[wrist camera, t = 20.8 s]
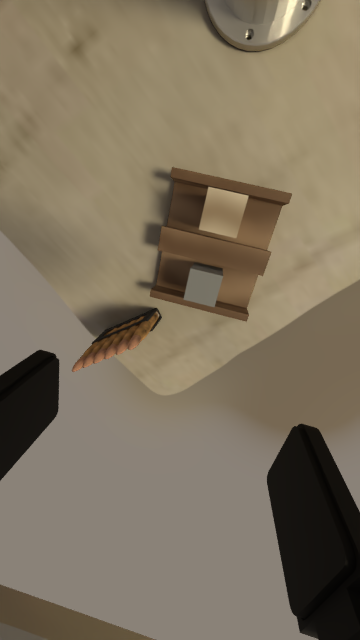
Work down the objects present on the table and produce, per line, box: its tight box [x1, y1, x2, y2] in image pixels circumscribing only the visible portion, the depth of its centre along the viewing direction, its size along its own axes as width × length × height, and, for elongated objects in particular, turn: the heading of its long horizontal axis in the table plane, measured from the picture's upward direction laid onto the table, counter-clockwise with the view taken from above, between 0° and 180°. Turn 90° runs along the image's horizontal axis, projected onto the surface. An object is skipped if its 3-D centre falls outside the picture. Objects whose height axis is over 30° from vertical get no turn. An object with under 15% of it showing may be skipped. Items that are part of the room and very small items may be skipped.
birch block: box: [199, 187, 249, 238], centre depth 27 cm, size 4×4×8 cm
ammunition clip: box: [72, 308, 162, 372], centre depth 35 cm, size 11×2×12 cm, turn 116°
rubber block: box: [183, 262, 223, 307], centre depth 32 cm, size 4×4×6 cm
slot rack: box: [150, 167, 292, 322], centre depth 32 cm, size 16×14×4 cm
